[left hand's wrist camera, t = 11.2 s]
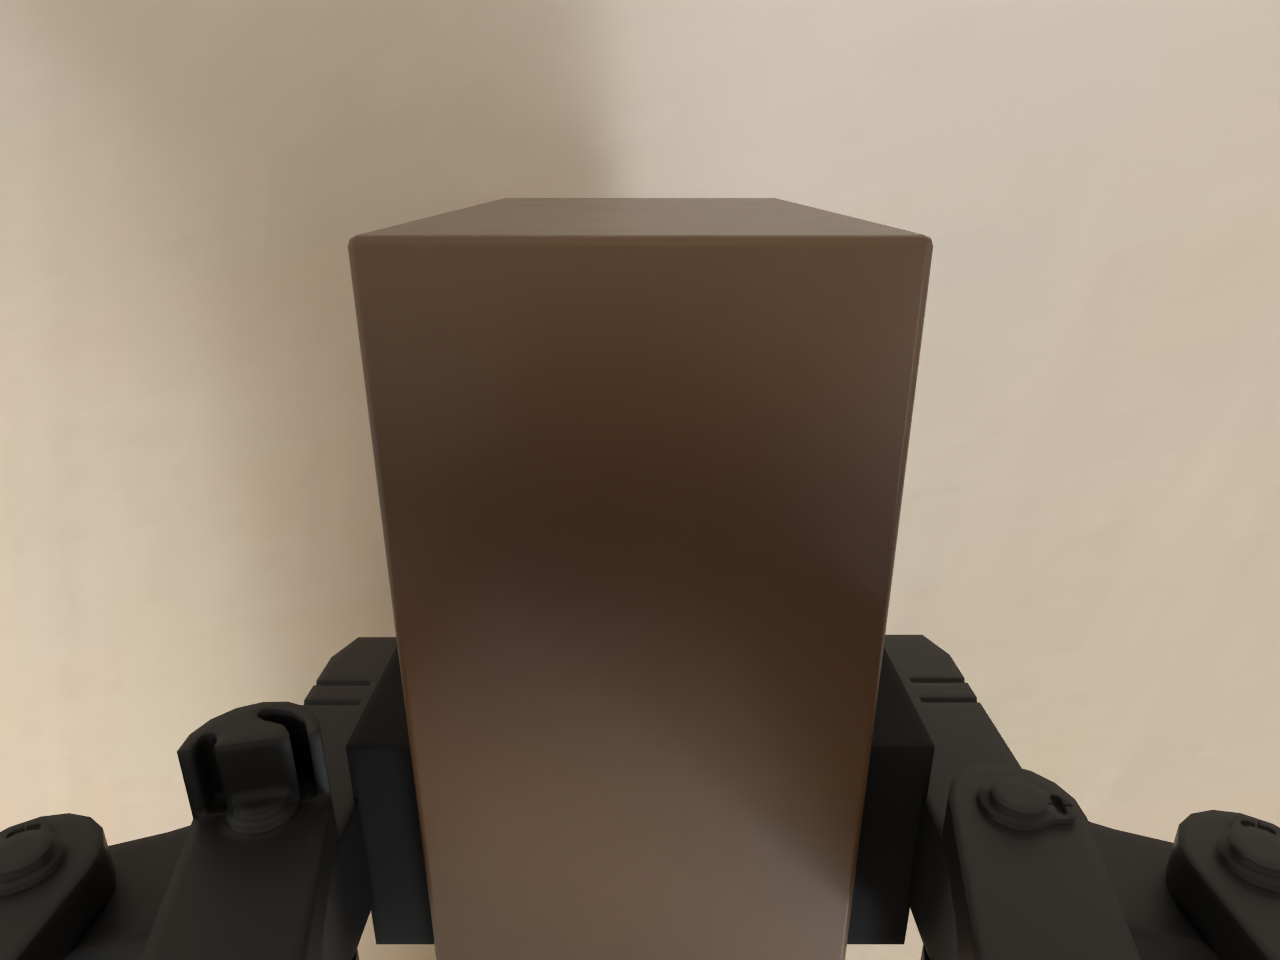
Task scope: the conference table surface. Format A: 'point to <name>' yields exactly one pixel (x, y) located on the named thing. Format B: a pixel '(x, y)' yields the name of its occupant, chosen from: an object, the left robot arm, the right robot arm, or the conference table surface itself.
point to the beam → (640, 561)
